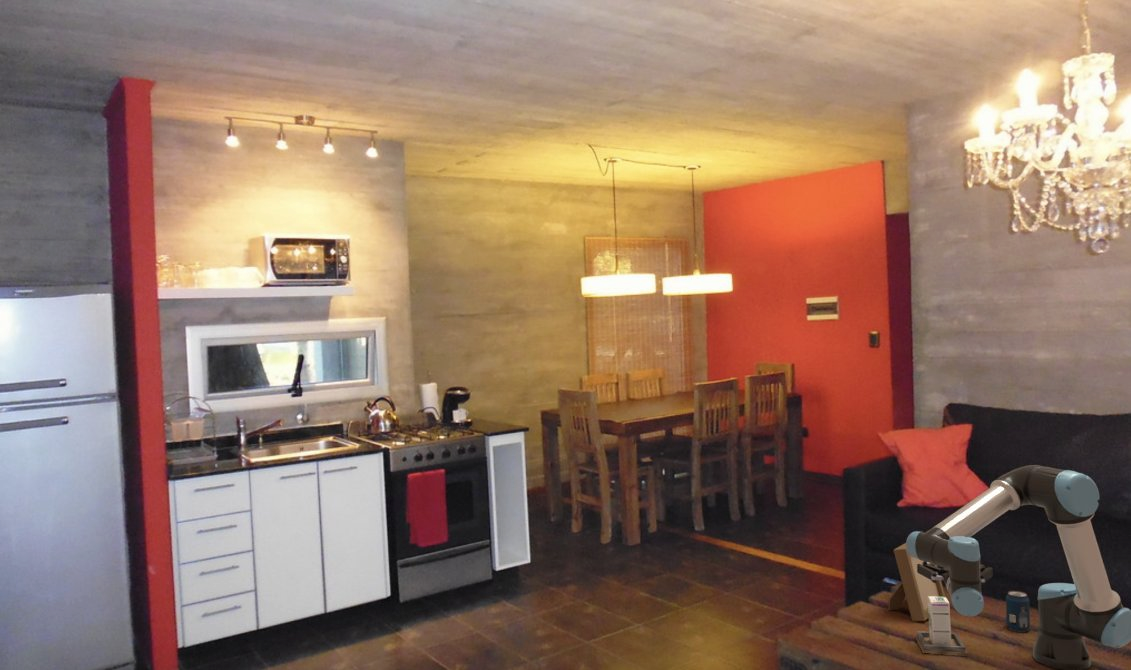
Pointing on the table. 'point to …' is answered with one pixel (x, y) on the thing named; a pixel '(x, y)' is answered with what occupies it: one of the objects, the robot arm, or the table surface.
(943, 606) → the syrup box
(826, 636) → the table surface
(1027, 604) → the soda can
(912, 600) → the photo frame
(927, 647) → the tray
